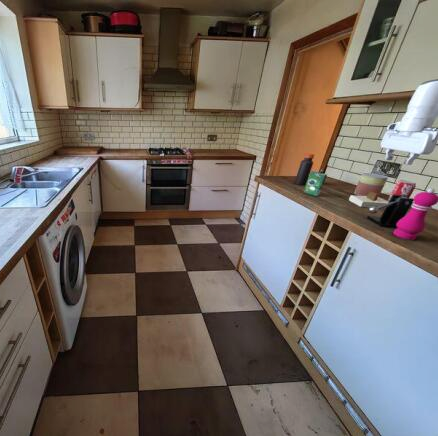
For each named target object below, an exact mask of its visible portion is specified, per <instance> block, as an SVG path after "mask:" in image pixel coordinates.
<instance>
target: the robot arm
mask: <svg viewBox="0 0 438 436" xmlns="http://www.w3.org/2000/svg"><path fill="white" fill-rule="evenodd" d="M437 117H438V79H431V80H426V81H424V82H422V83H420V84H419V85H418V87H417V88H416V89H415V91H414V93H413V95H411V98H410V100H409V102H408V104H407V109H406V112H405V113H404V115H403V116H402V118H401V120H400V121H396V122H394V123H390V124H388V126H386V127H387V128H386V130H387V131H386V132H385V133H384V135H383V137H382V140H381V142H380V148H381V149H386V150H385V155H386V156H385V158H384V160H385V161H393V158H394V155H393V153H394V152H395V151H399V152H406V153H409V158H407V159H404V162H403V164H404V165H406V166H411V165H413V162H414V161H415V160H417V159H418V158H419V157H420V156H421V155H426V156H427V155H428V156H429V155H430V154H432V153H433V152H434V151H435V148H436V146H437V143H438V127H433V125H434V123H435V121H436V119H437Z"/></svg>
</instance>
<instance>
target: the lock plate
mask: <svg viewBox="0 0 438 436" xmlns="http://www.w3.org/2000/svg"><path fill="white" fill-rule="evenodd" d="M366 197H367V196H359V195H356V194H354V195H353V194H352V195H351V194H350V196H349V199H348V201H349V202H351V203H353V204H355V205H357V206H358V207H360V208H368V209H369V208H370V207H372V206H375V207H378V206H381V205H384V204H387V203H389V202H388V200H386V199H384V198H381V197H379V196H378V198H377V200H376V201H373V200H371V199H368V198H366ZM383 209H384V210H385V208H383Z"/></svg>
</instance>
